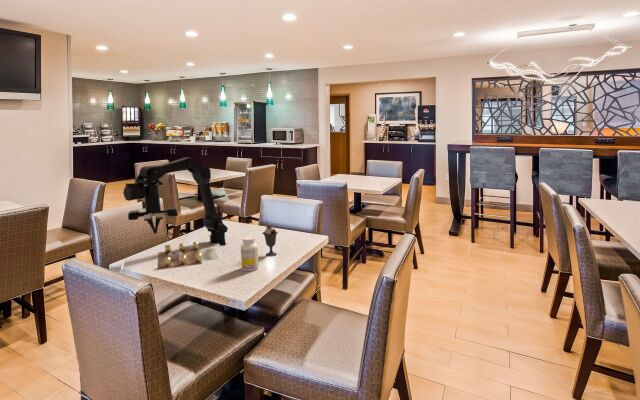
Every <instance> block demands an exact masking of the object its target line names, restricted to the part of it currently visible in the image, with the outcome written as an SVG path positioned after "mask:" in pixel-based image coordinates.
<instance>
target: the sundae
mask: <svg viewBox="0 0 640 400" xmlns="http://www.w3.org/2000/svg"><path fill="white" fill-rule="evenodd" d="M265 223H266V224H267V226H266V228H265V230H264V231H263V232H262V235H263V236H264V239H265V240H264V241H265V244H266V246H267V247H268V248H269V252H267V253H265V256H267V257H275V256H277V255H278V253H277V252H274V251H273V247H274V246H275V245H276V241H277V234H278V233H279V232H278V231H276V228H274V227H273V226H270V225H269V223H268V221H265Z"/></svg>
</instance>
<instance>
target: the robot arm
mask: <svg viewBox="0 0 640 400" xmlns="http://www.w3.org/2000/svg"><path fill="white" fill-rule="evenodd" d="M182 169H186V171H188V172H189V173H191V176H192V178H193V181H195V183H196V184H197V185H198V189H199V192H200V196H201V201H202V205H203V207H204V212H205V214H204V217H202V218H201V219H202V224H203V226H204V227H205V229H207V231H208V232H209V233H210V234H209V240H210V241H209V243H210V244H218V245H219V246H226V244H227V243H226V233H227V232H228V229H229V228H228V226H227V225H226V224H224V222H223V220H222V217H221V215H220V214H219V213H218V212H217V210H216V209H217V208H216V206H215V205H216V204H215V202H214V197H213V192H212V189H211V185H210V184H211V183H210V181H211V178H212V176H211V175H212V173H211V169H210V167H209V166H207V165H204V164H203V163H200V162H198V161H197V160H196V159H193V158H191V157H188V156H187V157H182V158H178V159H175V160H172V161H169V162H166V163H162V164H158V165H157V164H156V165H154V164H153V165H145V166H142V167H141V168H140V169H139V172H138V173H139V174H138V175H137V177H136V178H135V181H134V182H132V183H131V182H130V183H129V182H126V183H125V187H124V188H123V191H122V192H123V197H124V199H125V200H126V201H127V202H131V201H136V200H141V199H143V200H142V201H141V206H142V209H143V210H145V211H140V210H139V209H138V210H137V209H136V210H130V211H129V212H128V213H127V218H128V221H135V220H138V219H139V218H142V217H143V221H144V222H147V223H148V224H149V226H150V227H151V228H150V229H151V230H152V231H153V234H154V235H156V234H158V230H159V225H160V222H161V220H164V216H165V215H167V216H169V217H177V216H178V208H177V207H176V206H175V207H174V206H173V207H167V208H166V209H165V210H164V209H163V210H162V206H161V200H160V190H159V186H162V185H164V182H162V181H161V180H160V179H161V178H163V177H164V176H165V175H167V174H170V173H172V172H173V173H174V172H175V171H180V170H182ZM154 216H155V223H154Z"/></svg>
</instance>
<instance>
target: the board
mask: <svg viewBox="0 0 640 400" xmlns="http://www.w3.org/2000/svg"><path fill="white" fill-rule="evenodd" d="M173 251H180V249H174V250H173ZM197 253H201V260H202V262H201V263H196V254H197ZM182 255H186V263H187V264H185V265H181V259H180V260H173V261H172V260H171V266H170V267H165V257H168V254H166V253H165V251H159V252H158V257H157V271H159V270H161V271H162V270H168V269H175V268H183V267H190V266H197V265H203V262H204V261H206V262H207V261H212V260H218V259H219V257H218V254H217V252H216V249H215V248H214V247H212V248H205V249H199V250H194V249H193V247H191V248H185V251H184V252H182Z"/></svg>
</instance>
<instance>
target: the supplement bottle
mask: <svg viewBox="0 0 640 400" xmlns="http://www.w3.org/2000/svg"><path fill="white" fill-rule="evenodd" d="M255 240H256V239H255V236H250V235H249V236H245V237H244V236H243V238H242V242H243V243H242V244H241V245H240V254H241V255H240V257H241V259H240V260H241V269H242V270H243V271H246V272H254V271H256V270H257V269H259V268H260V267H259V264H260V263H259V250H258V249H259V248H258V244H257V243H256V242H255Z"/></svg>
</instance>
